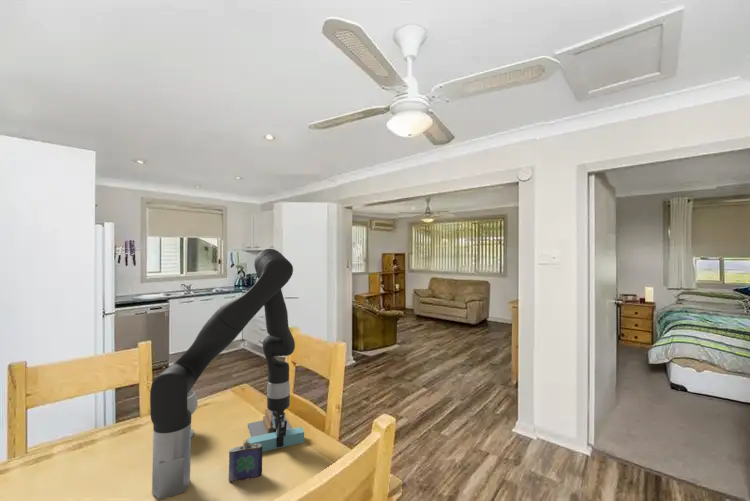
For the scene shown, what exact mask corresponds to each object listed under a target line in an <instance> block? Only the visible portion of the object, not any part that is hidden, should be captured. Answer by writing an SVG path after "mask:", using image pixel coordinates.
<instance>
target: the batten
mask: <svg viewBox="0 0 750 501" xmlns="http://www.w3.org/2000/svg"><path fill="white" fill-rule="evenodd" d="M247 441H248V443H250V444H255V443H257V444H261V445H262V453H264V452H266V451H267V452H268V451H270V450H276V449H280V448H286V447H290V446H295V445H297V444H298V445H299V444H303V443H305V431H304V429H303V427H302V426H299V427H298V426H297V427H292V429H288V430H286V436H284V443H283V446H282V447H277V446H276V432H273V433H268V434H263V435H258V436H254V437H251V436H250V437H249V436H248V439H247Z"/></svg>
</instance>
